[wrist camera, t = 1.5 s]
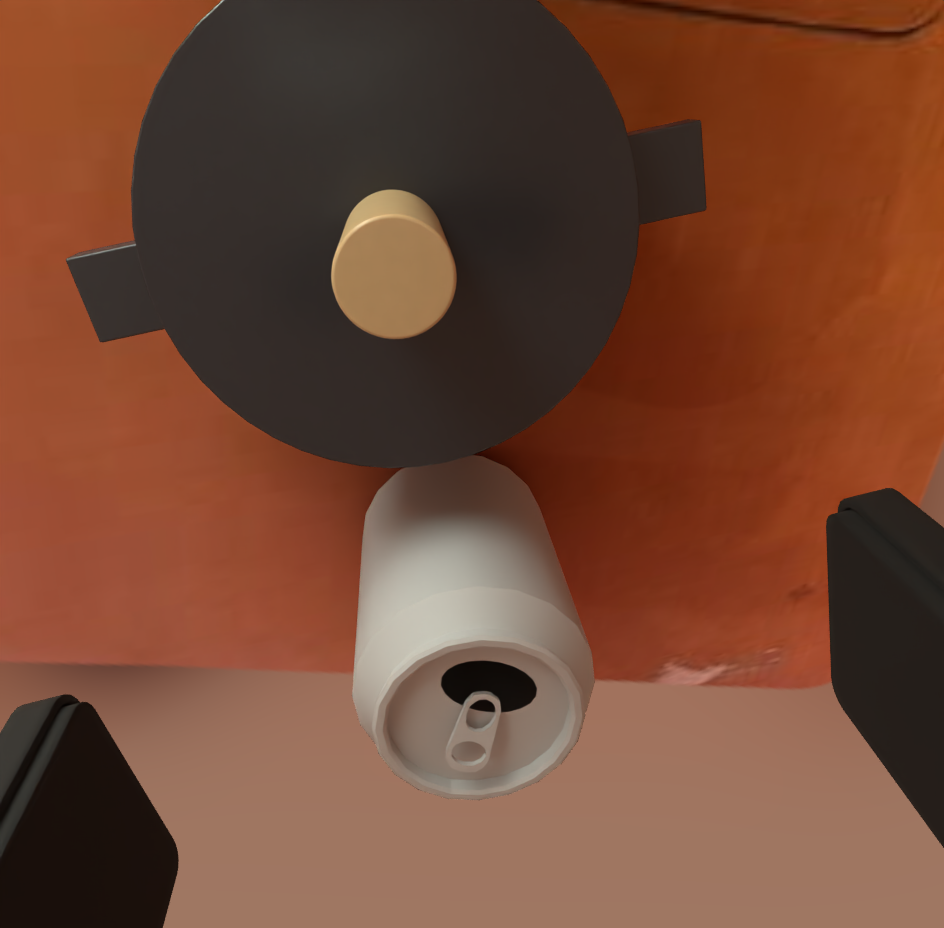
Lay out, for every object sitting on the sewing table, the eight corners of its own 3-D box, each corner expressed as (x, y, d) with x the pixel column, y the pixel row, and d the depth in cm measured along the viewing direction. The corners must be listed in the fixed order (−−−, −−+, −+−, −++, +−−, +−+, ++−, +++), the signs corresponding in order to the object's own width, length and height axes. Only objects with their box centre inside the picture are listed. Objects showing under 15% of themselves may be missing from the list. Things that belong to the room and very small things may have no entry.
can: (564, 469, 33) (649, 653, 22) (505, 613, 36) (554, 838, 25) (391, 423, 31) (390, 596, 20) (343, 577, 34) (320, 801, 23)
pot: (79, 68, 25) (-34, 57, 18) (616, -50, 25) (698, -103, 18) (208, 414, 30) (156, 504, 24) (652, 317, 30) (726, 379, 24)
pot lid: (58, 15, 19) (-73, -18, 13) (598, -103, 19) (679, -182, 13) (236, 493, 24) (193, 604, 19) (650, 402, 24) (722, 488, 19)
